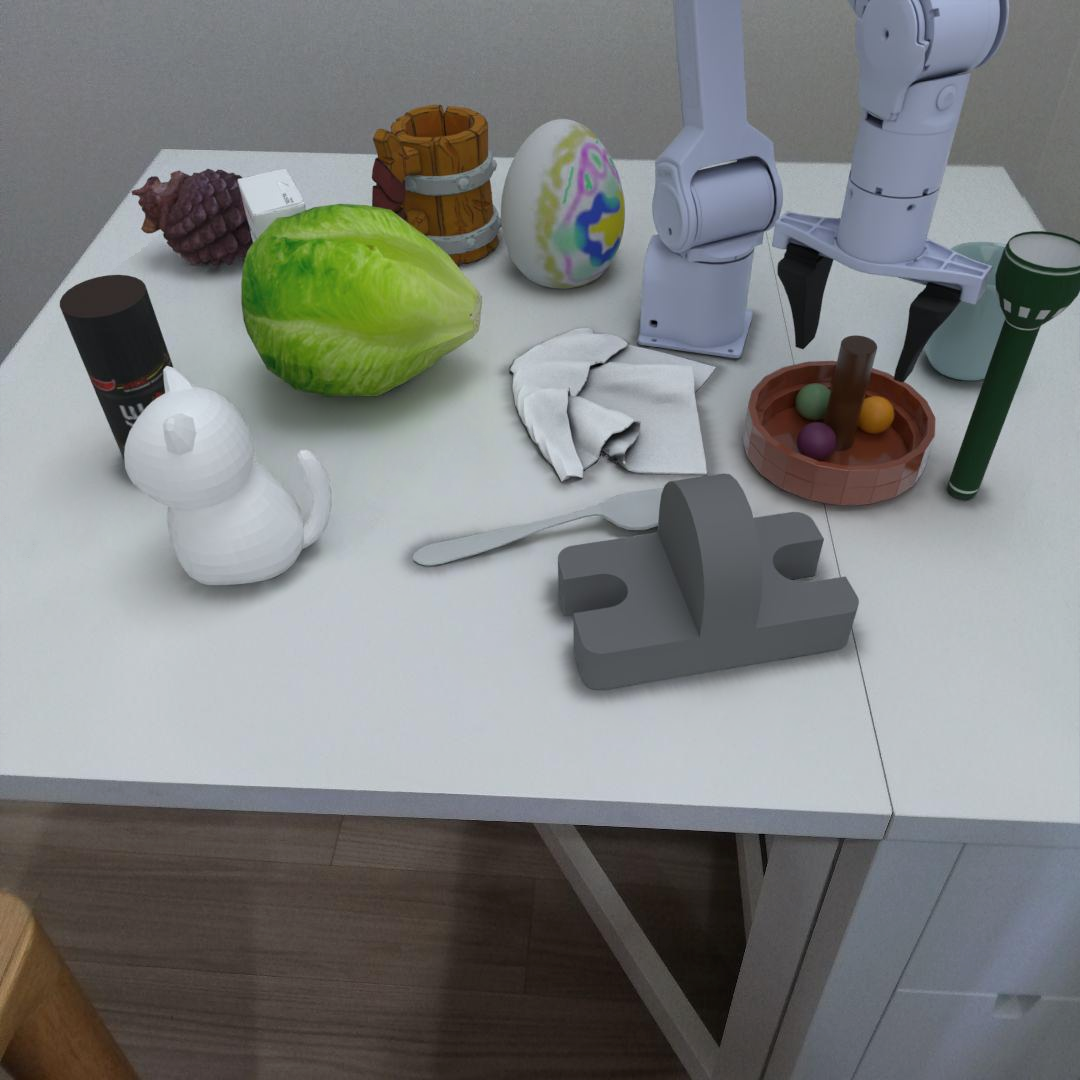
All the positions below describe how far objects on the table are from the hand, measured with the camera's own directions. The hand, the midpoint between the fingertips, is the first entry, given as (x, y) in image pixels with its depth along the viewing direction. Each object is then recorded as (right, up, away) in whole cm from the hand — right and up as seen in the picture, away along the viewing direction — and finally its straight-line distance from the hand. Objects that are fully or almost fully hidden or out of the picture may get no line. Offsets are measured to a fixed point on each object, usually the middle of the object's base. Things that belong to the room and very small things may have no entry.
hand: (853, 358), depth 72 cm
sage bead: (-1, -2, +7) cm, 8 cm away
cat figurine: (-44, -15, -1) cm, 46 cm away
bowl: (0, -6, +6) cm, 9 cm away
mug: (-34, +17, +32) cm, 50 cm away
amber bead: (+4, -3, +6) cm, 8 cm away
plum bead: (-2, -6, +4) cm, 7 cm away
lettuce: (-38, +1, +15) cm, 41 cm away
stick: (+1, -5, +6) cm, 8 cm away
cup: (+14, +2, +14) cm, 20 cm away
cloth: (-17, -2, +11) cm, 21 cm away
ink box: (-48, +10, +25) cm, 55 cm away
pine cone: (-56, +17, +32) cm, 67 cm away
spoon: (-22, -13, 0) cm, 26 cm away
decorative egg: (-21, +14, +28) cm, 38 cm away
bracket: (-12, -19, -6) cm, 23 cm away
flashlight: (+9, -10, +2) cm, 14 cm away
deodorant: (-54, -7, +8) cm, 55 cm away
